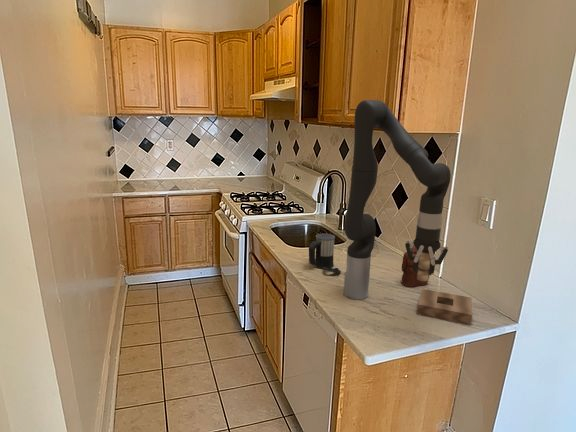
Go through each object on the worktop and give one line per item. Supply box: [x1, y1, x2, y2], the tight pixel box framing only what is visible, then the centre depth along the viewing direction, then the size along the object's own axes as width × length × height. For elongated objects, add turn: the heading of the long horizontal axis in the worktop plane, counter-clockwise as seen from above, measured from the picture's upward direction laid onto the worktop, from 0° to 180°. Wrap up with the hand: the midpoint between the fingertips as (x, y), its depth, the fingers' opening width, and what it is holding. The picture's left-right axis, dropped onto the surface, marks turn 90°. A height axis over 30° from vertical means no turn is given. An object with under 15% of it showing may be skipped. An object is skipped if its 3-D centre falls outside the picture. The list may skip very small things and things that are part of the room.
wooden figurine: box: [400, 245, 430, 288], centre depth 164 cm, size 12×6×18 cm, turn 108°
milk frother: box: [308, 233, 341, 275], centre depth 179 cm, size 14×16×15 cm
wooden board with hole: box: [416, 288, 473, 326], centre depth 144 cm, size 18×14×4 cm
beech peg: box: [417, 252, 431, 282], centre depth 131 cm, size 4×4×10 cm
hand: (423, 272), depth 131 cm, fingers closed on beech peg, 4 cm apart
